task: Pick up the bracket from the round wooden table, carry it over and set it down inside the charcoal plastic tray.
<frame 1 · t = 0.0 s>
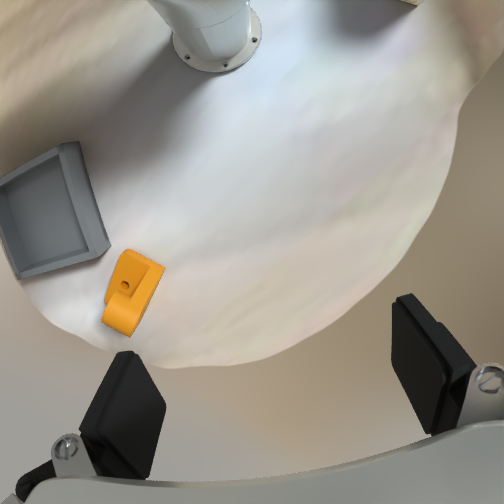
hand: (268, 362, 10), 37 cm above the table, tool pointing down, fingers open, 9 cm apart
tray: (49, 211, 46), on the table
bracket: (136, 280, 51), on the table
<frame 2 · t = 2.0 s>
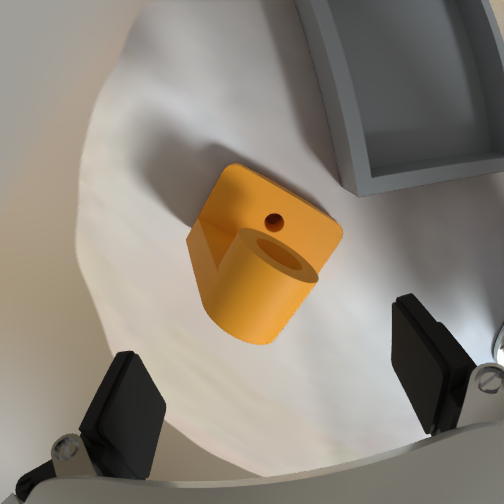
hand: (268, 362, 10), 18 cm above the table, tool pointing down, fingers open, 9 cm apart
tray: (409, 65, 22), on the table
bracket: (266, 224, 27), on the table
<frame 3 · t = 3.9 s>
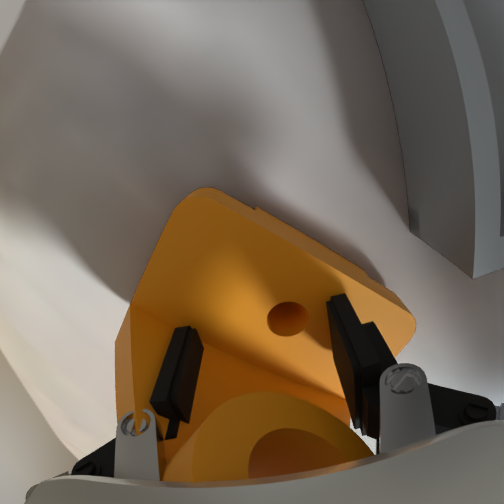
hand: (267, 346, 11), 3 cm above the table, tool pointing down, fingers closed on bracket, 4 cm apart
bracket: (268, 303, 14), on the table, touching gripper
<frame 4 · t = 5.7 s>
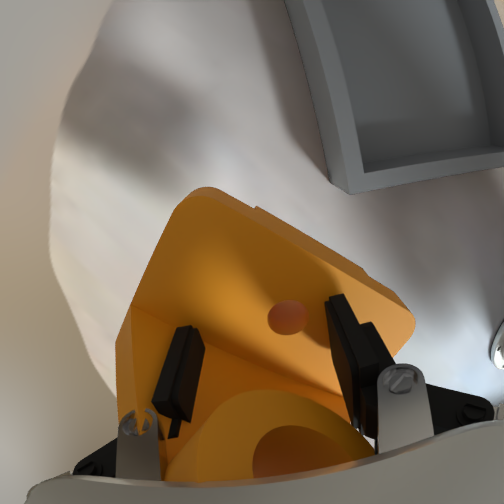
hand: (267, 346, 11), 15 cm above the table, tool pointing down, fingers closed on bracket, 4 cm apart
tray: (403, 52, 20), on the table
bracket: (268, 302, 14), point 11 cm above the table, touching gripper
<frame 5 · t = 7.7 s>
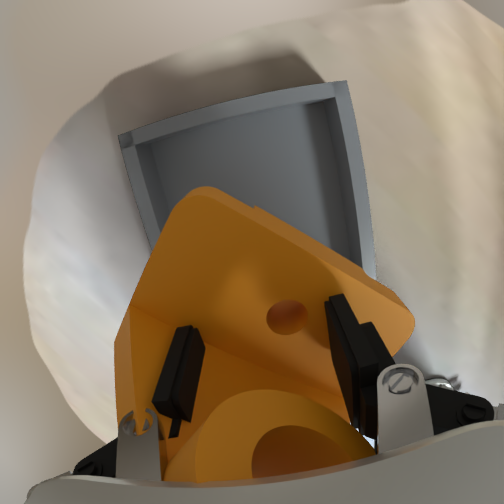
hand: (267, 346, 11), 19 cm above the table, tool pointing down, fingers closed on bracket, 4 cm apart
tray: (258, 212, 29), on the table
bracket: (267, 301, 14), point 16 cm above the table, touching gripper
when the fingers open (6 cm above the table, at t = 11.0 s): bracket drops 2 cm, resting on tray.
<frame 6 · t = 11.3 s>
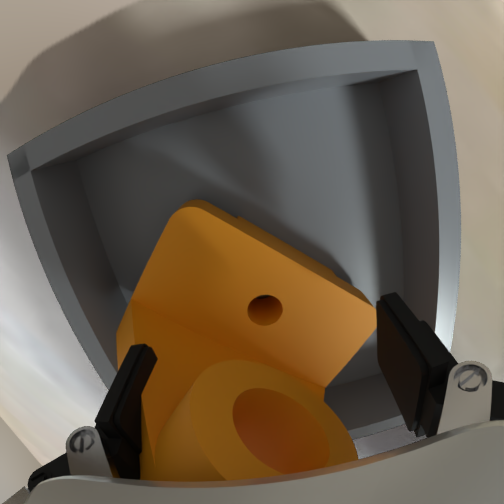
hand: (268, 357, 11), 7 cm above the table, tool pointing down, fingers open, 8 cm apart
tray: (262, 273, 17), on the table
bracket: (249, 299, 17), point 1 cm above the table, touching gripper, tray
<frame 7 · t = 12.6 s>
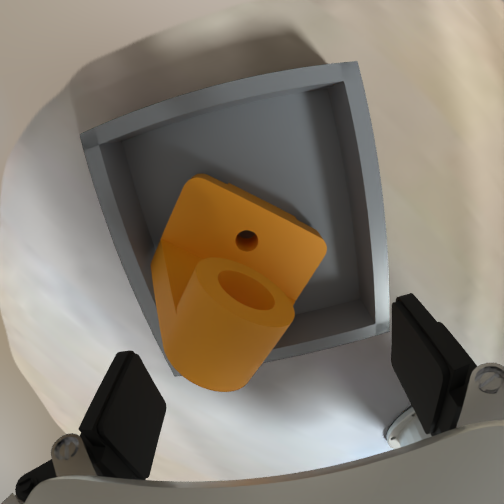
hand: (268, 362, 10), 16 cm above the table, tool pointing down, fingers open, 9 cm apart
tray: (250, 220, 25), on the table
bracket: (240, 239, 24), point 1 cm above the table, touching tray
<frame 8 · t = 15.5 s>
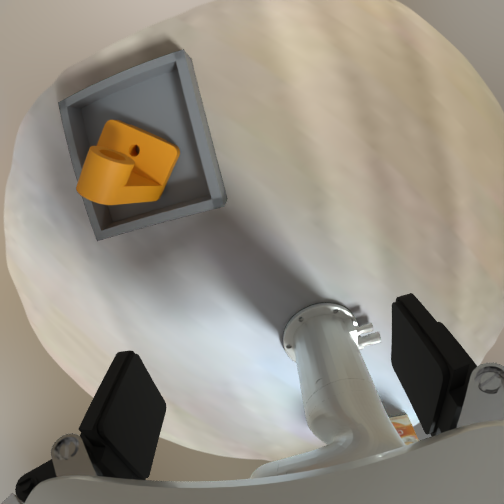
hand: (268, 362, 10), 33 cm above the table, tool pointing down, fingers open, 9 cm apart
tray: (145, 146, 39), on the table
coffeecake box: (375, 426, 60), on the table
bracket: (138, 156, 39), point 1 cm above the table, touching tray
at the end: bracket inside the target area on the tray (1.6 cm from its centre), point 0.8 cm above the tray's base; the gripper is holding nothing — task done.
